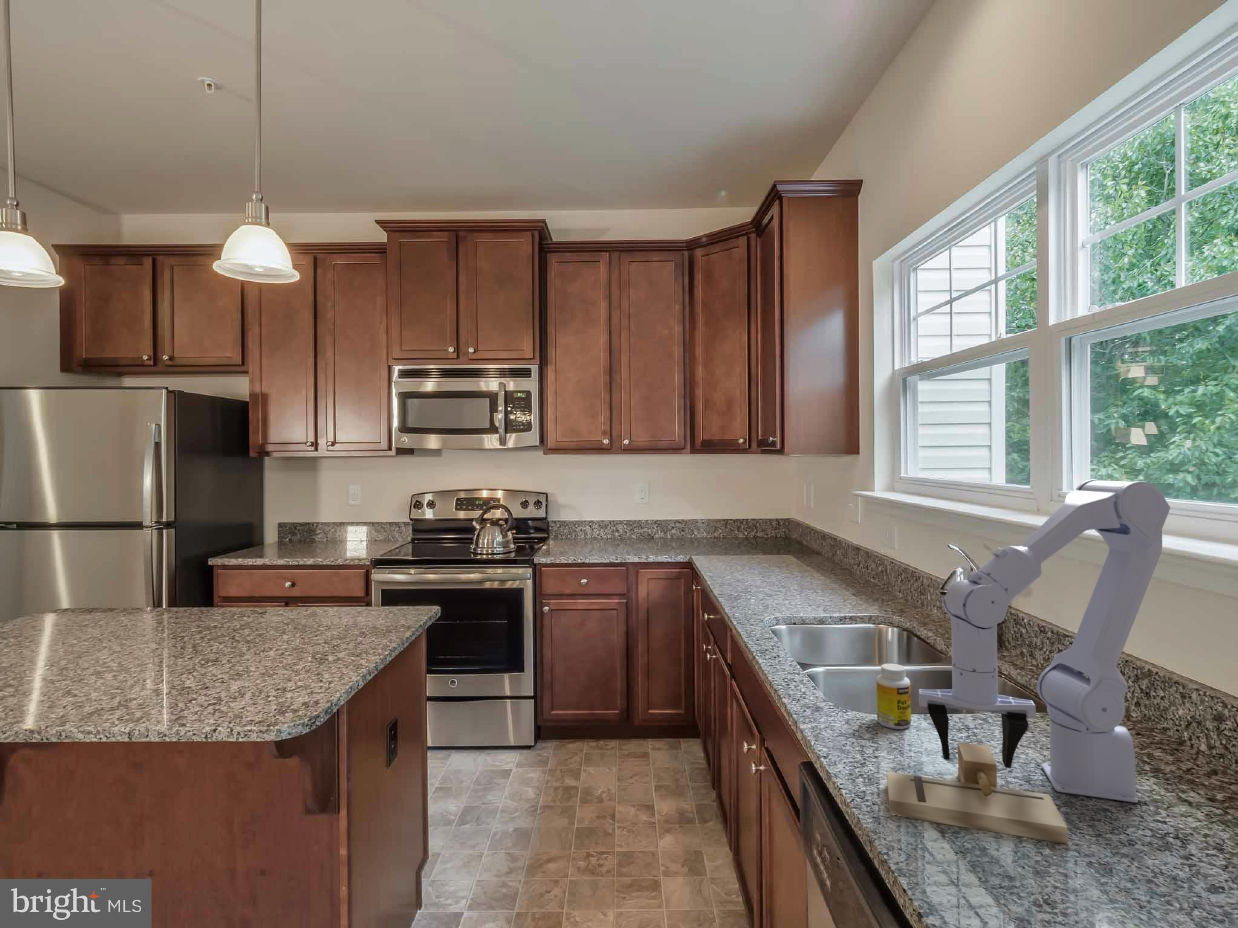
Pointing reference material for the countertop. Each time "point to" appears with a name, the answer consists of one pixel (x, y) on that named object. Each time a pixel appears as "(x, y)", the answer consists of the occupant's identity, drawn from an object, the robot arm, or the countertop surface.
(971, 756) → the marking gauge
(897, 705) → the supplement bottle
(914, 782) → the maple board
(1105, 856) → the countertop surface
